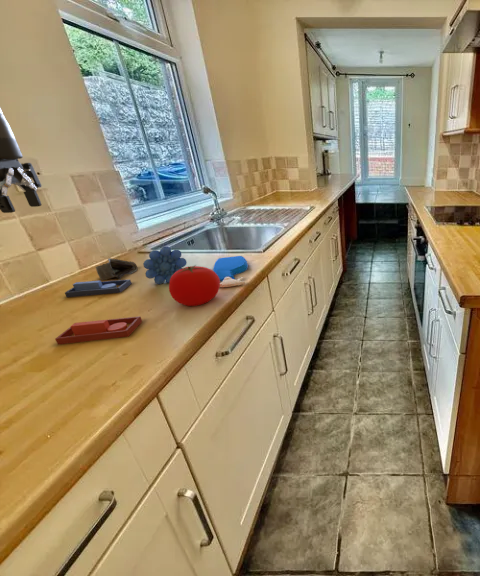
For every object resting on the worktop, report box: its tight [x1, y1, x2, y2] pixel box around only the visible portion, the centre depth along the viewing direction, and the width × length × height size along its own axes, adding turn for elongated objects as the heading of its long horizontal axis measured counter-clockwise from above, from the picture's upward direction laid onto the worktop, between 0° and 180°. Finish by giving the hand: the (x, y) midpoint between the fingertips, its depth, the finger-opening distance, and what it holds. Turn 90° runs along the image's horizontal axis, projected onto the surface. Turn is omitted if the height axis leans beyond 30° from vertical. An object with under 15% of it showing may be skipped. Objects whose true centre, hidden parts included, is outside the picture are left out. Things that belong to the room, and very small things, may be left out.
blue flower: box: [142, 246, 187, 285], centre depth 100 cm, size 12×7×12 cm, turn 115°
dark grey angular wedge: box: [95, 257, 139, 281], centre depth 106 cm, size 10×7×12 cm
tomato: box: [168, 264, 221, 307], centre depth 87 cm, size 11×12×10 cm
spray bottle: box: [212, 255, 249, 288], centre depth 107 cm, size 3×11×24 cm
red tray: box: [54, 315, 143, 345], centre depth 73 cm, size 14×7×2 cm, turn 103°
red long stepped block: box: [70, 319, 129, 336], centre depth 73 cm, size 10×4×3 cm, turn 103°
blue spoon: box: [72, 279, 118, 291], centre depth 95 cm, size 10×4×3 cm, turn 103°
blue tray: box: [64, 278, 132, 298], centre depth 95 cm, size 14×7×2 cm, turn 103°
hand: (23, 209), depth 78 cm, fingers open, 8 cm apart
